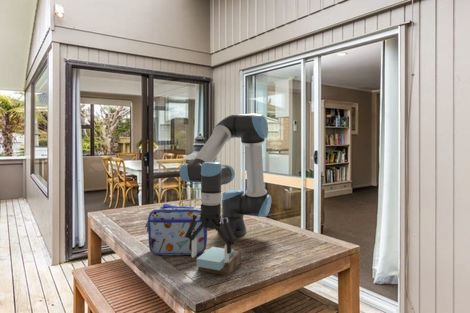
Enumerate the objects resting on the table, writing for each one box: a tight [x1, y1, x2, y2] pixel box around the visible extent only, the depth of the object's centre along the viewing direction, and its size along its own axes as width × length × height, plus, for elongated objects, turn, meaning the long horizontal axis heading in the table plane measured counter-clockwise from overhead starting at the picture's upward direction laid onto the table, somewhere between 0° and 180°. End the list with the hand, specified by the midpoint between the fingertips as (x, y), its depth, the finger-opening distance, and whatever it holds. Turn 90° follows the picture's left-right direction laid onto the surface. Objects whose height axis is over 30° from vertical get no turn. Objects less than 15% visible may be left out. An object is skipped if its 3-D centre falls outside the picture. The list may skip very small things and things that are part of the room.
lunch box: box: [144, 203, 208, 256], centre depth 145 cm, size 28×10×22 cm, turn 92°
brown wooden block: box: [197, 246, 242, 277], centre depth 132 cm, size 14×13×5 cm
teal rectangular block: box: [196, 246, 235, 270], centre depth 127 cm, size 14×10×3 cm
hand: (210, 259), depth 122 cm, fingers open, 13 cm apart
